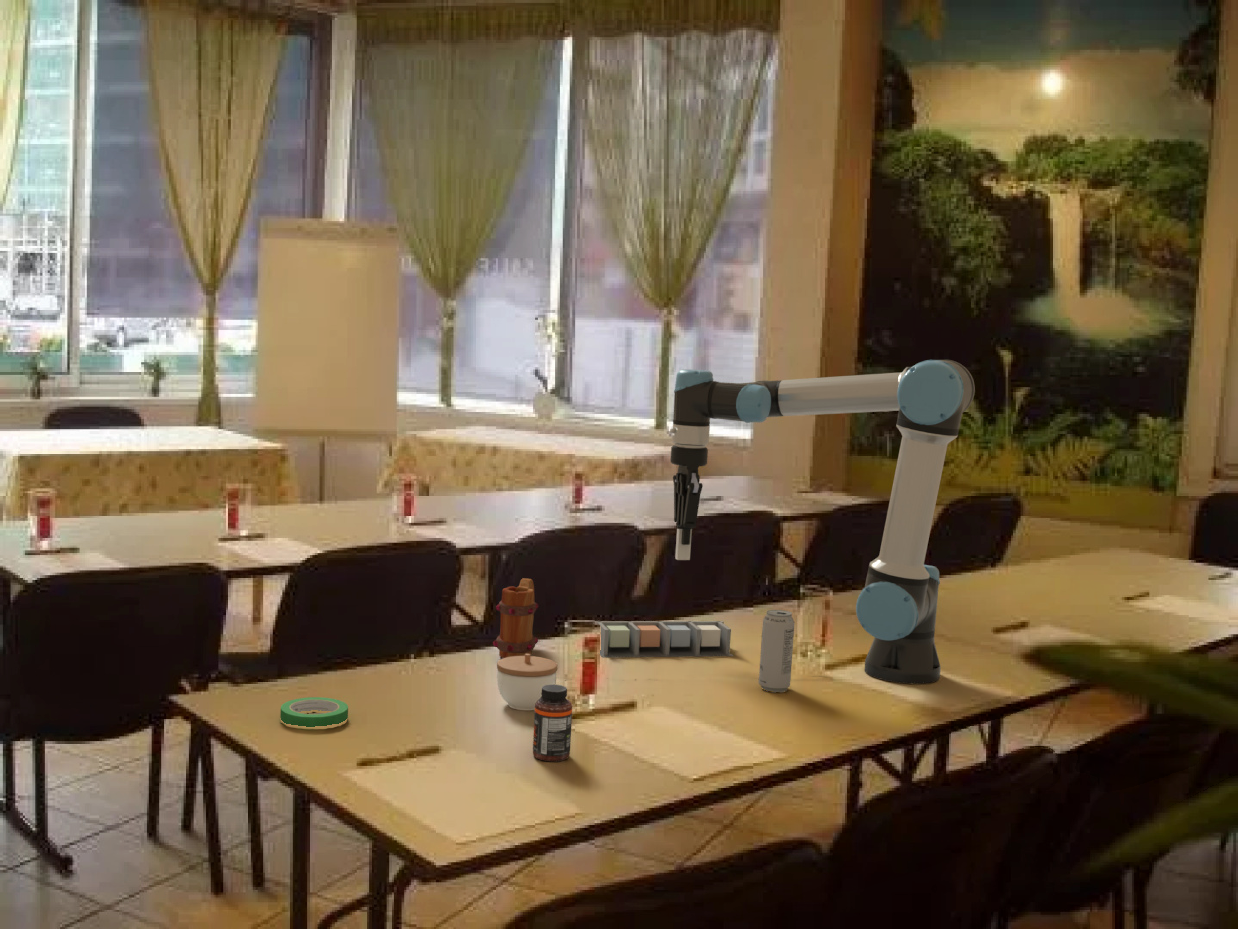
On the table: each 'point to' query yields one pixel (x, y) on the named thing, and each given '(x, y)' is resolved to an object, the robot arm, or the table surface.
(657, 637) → the terracotta key
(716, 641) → the ivory key
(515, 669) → the lidded jar
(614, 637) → the sage key
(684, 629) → the slate key
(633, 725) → the table surface
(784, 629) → the energy drink can
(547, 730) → the supplement bottle
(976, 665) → the table surface
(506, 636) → the mug
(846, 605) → the table surface
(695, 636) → the grey compartment rack
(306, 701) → the tape roll
